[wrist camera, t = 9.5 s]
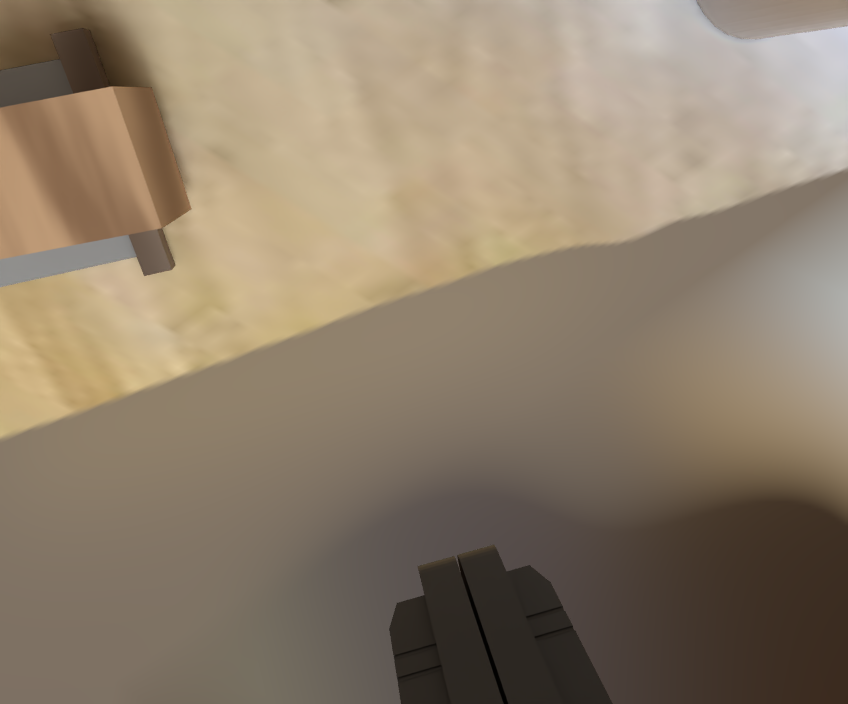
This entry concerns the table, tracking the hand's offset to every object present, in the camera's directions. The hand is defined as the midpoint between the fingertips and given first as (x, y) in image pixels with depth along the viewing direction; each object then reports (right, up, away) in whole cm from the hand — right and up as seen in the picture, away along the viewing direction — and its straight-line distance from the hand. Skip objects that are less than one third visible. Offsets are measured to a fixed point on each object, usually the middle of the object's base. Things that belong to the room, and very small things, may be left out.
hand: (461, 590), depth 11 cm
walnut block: (-13, +14, +17) cm, 26 cm away
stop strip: (-17, +15, +20) cm, 30 cm away
